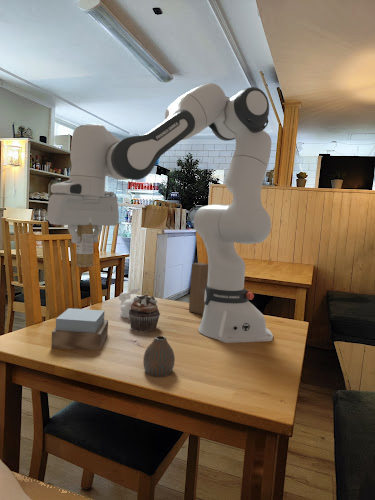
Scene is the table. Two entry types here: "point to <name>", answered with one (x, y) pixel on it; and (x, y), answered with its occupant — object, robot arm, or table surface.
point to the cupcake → (144, 314)
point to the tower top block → (80, 320)
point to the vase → (159, 358)
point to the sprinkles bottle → (85, 245)
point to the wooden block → (198, 287)
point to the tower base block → (80, 339)
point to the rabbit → (127, 302)
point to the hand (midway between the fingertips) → (84, 242)
